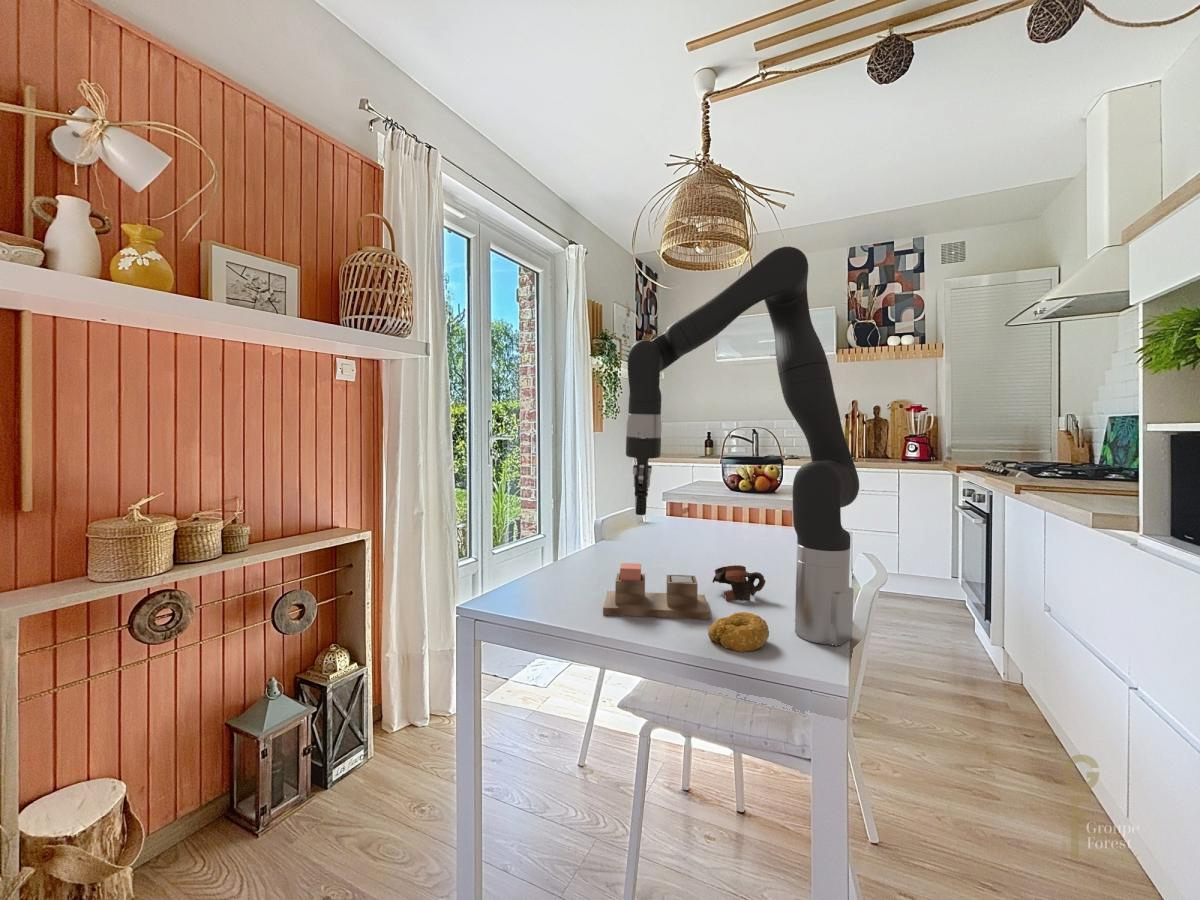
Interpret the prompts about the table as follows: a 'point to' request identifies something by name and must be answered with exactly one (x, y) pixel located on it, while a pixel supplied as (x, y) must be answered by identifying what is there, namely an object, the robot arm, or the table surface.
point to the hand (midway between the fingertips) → (640, 514)
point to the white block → (681, 579)
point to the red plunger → (630, 572)
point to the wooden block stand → (656, 600)
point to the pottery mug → (739, 582)
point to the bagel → (740, 631)
